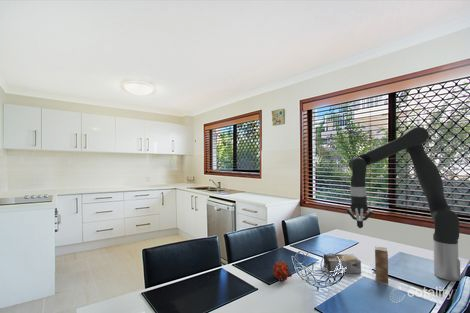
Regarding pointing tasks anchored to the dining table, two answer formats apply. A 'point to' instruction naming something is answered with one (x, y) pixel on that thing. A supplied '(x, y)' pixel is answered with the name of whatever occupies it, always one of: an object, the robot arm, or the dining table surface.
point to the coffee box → (347, 260)
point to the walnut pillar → (381, 264)
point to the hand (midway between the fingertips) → (360, 227)
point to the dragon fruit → (281, 270)
